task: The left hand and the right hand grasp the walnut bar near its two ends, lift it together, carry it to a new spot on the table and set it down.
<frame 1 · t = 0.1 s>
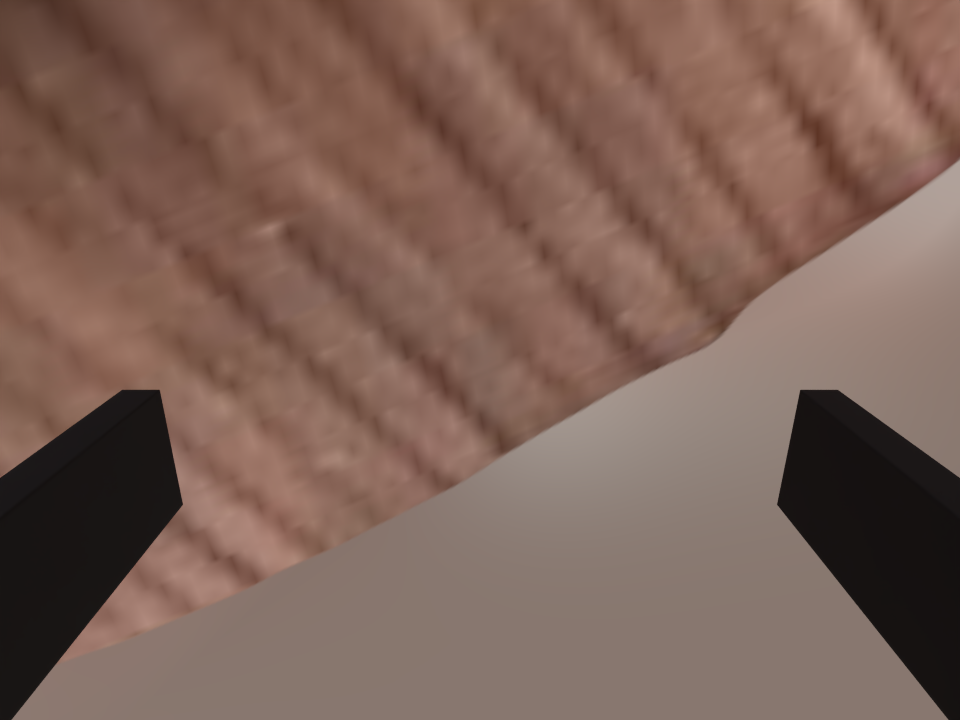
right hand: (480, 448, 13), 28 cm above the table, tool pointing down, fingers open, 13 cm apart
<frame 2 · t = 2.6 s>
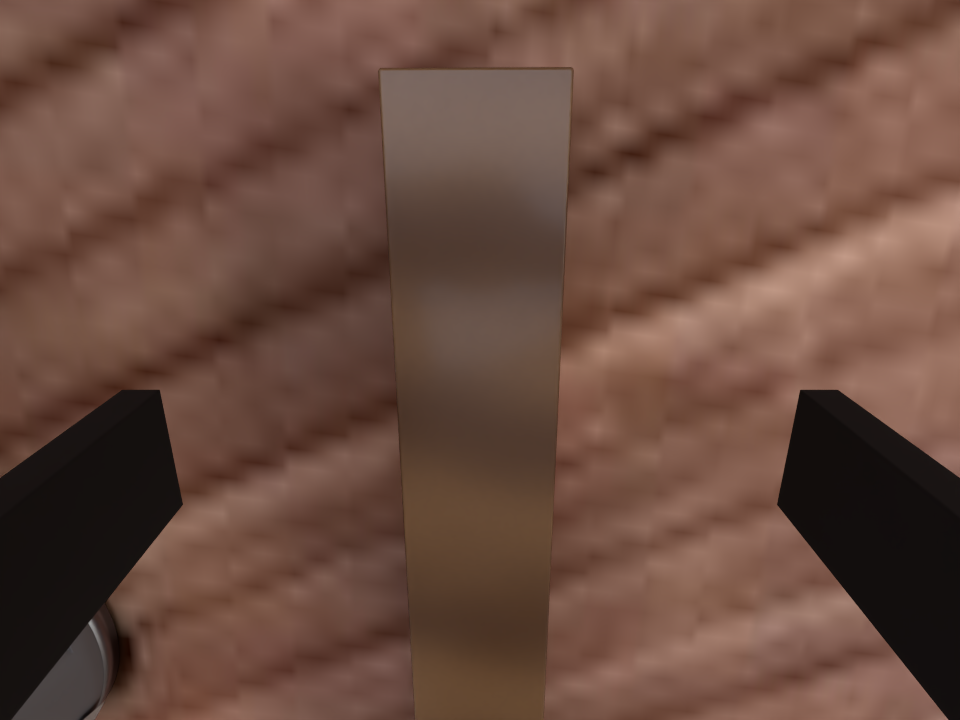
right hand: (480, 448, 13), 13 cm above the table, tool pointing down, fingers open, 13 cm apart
bar: (480, 685, 32), on the table, touching left hand
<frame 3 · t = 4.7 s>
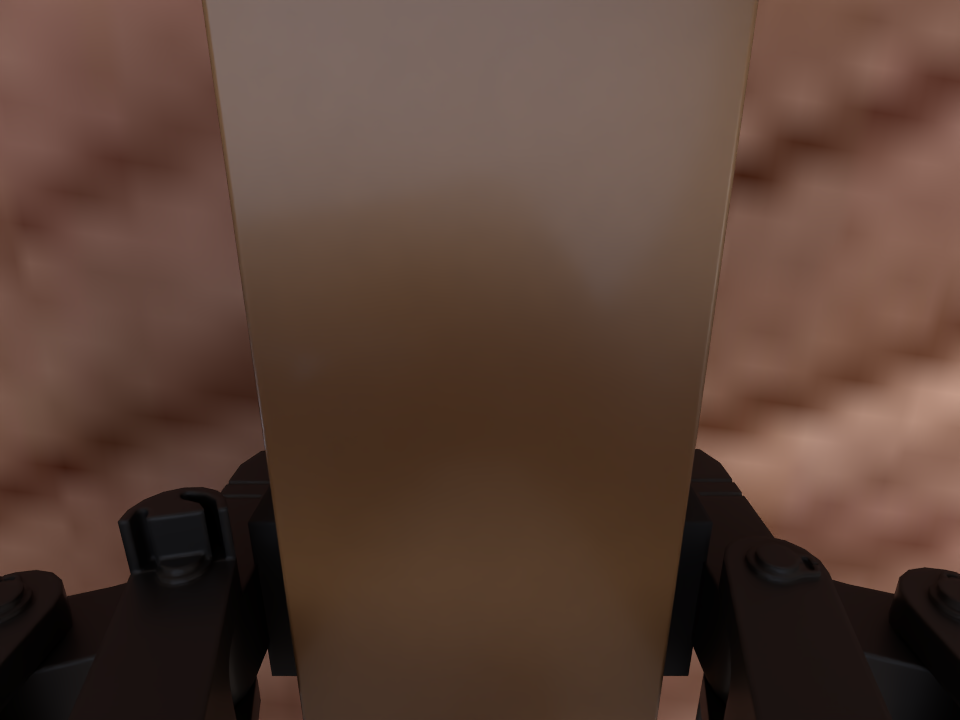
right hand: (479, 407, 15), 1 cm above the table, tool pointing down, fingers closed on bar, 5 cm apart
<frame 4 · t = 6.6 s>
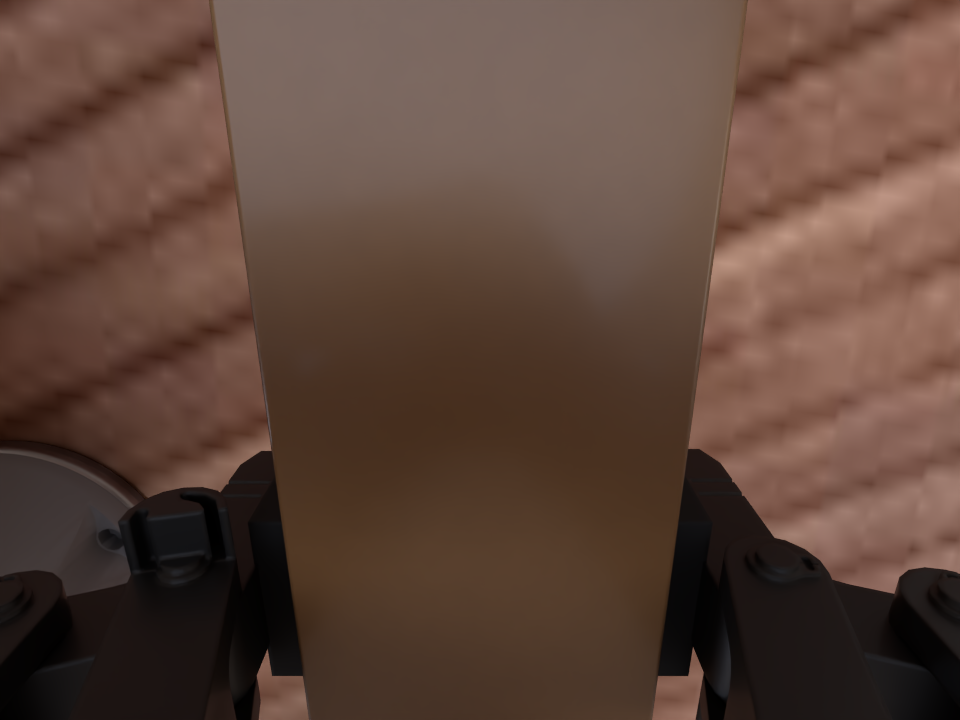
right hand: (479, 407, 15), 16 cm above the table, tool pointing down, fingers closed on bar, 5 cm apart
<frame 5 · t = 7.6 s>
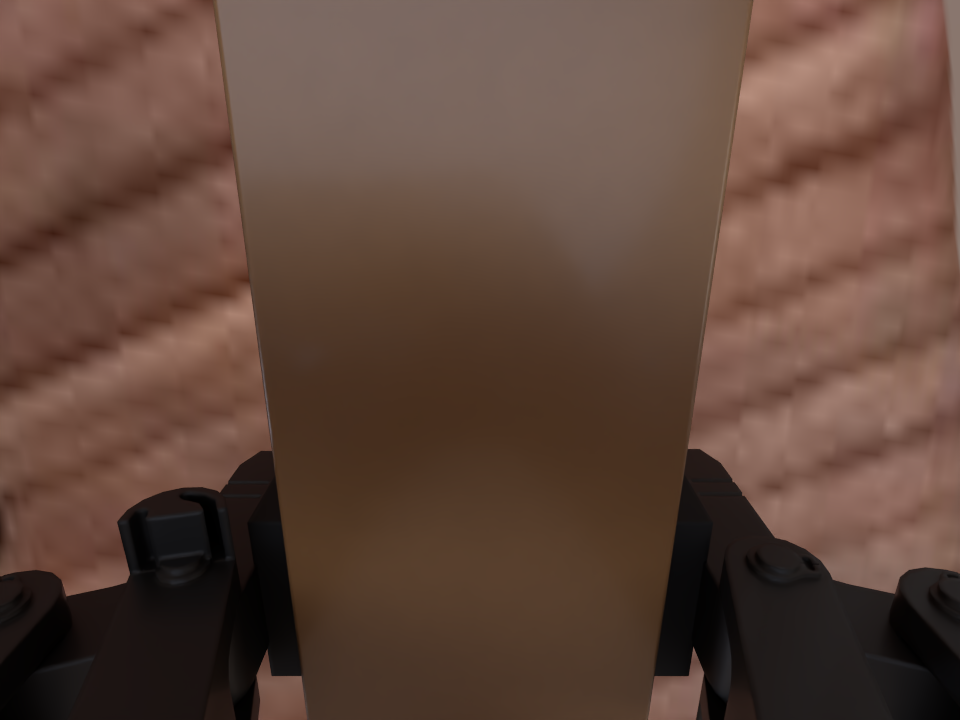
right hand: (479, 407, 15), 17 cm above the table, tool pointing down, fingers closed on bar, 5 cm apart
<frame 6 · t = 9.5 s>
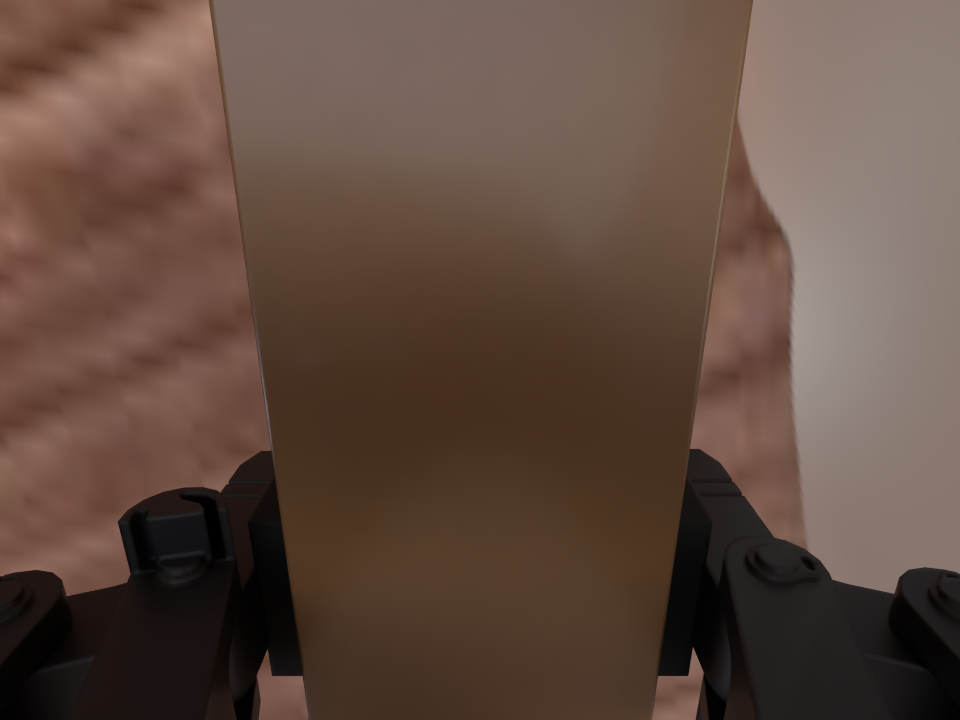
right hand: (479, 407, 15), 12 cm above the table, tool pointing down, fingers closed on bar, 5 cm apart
when the right hand's fingers open (2 cm above the table, at t = 10.7 s): bar drops 2 cm, on the table.
when the left hand's fingers open (5 cm above the table, at t = 10.8 s): bar stays where it is, on the table.
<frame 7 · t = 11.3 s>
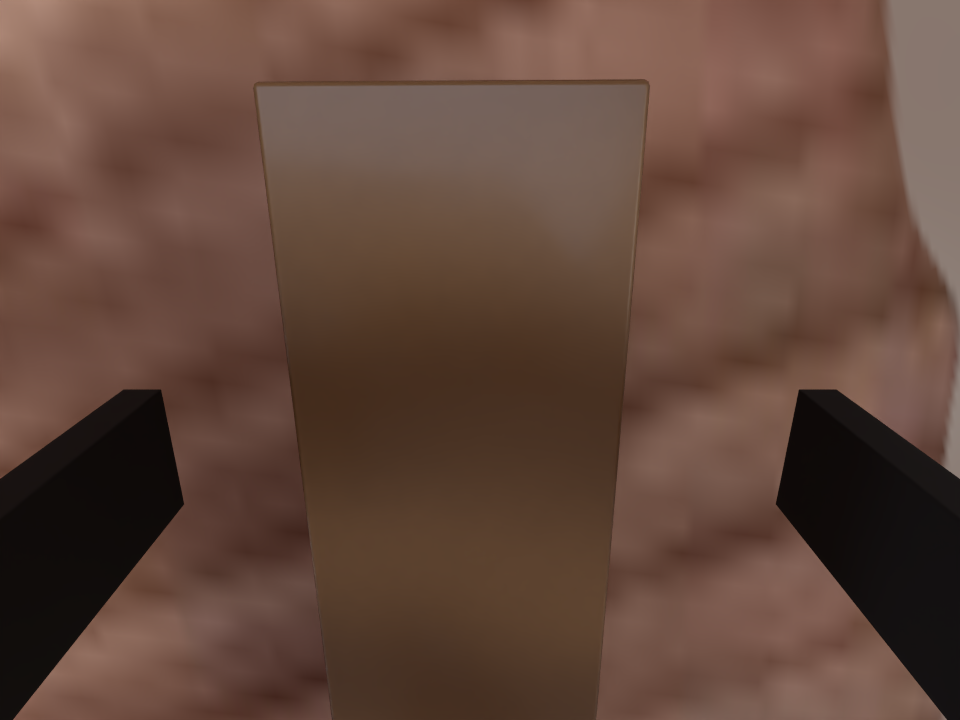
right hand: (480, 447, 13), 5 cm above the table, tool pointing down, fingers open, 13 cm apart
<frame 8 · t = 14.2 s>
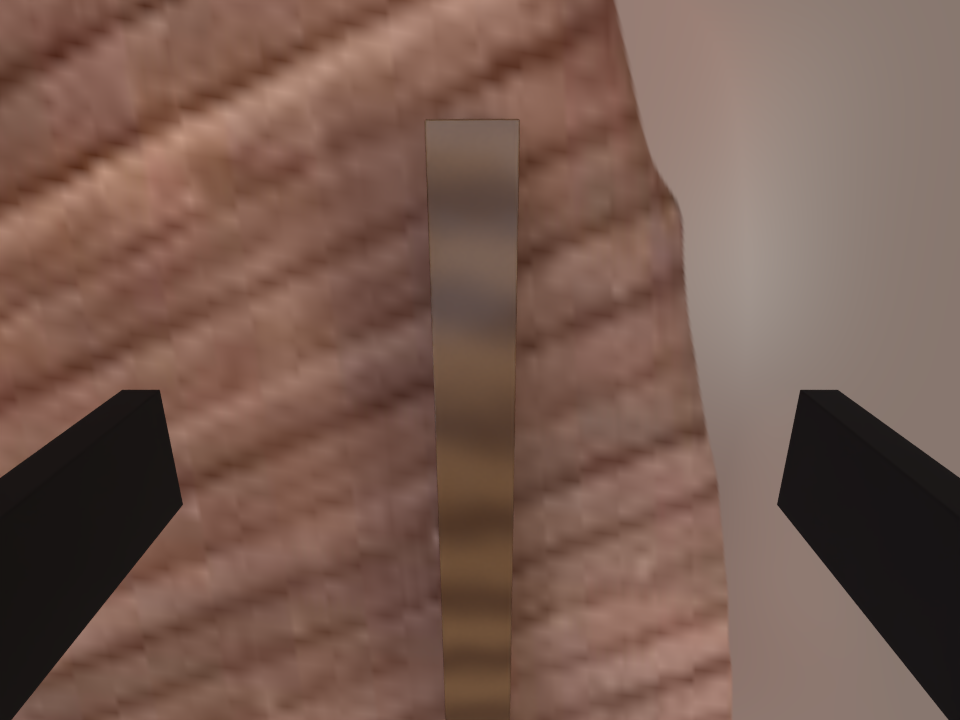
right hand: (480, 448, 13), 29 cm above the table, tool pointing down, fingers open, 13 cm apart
bar: (476, 518, 48), on the table
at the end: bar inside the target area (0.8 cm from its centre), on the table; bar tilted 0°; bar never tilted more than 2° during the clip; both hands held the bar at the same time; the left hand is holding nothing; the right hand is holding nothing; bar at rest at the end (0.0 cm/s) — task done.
